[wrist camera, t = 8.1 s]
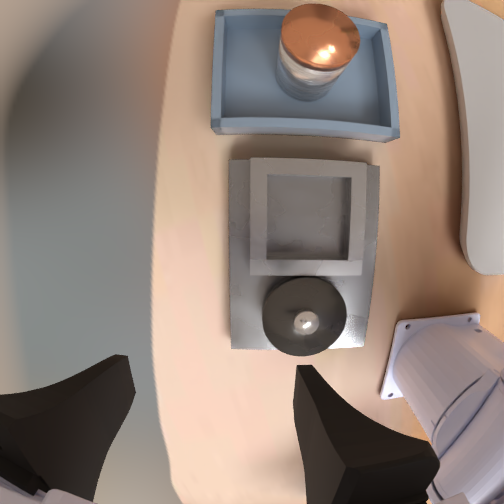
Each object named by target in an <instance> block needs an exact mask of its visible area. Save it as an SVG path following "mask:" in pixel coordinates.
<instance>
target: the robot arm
mask: <svg viewBox="0 0 504 504" xmlns="http://www.w3.org/2000/svg"><path fill="white" fill-rule="evenodd" d="M468 318H469V320H468ZM479 321H480V314H479V313H477V312H475V313H467V314H459V315H450V316H441V317H431V318H421V319H409V320H401V321H399V322H398V323H397V324H396V328H395V333H394V338H393V343H392V348H391V352H390V357H389V361H388V365H387V369H386V373H385V377H384V381H383V385H382V388H381V392H380V397H381V399H383V400H386V399H392V398H398V397H404V398H405V399H406V401H407V403H408V404H409V406H410V408H411V409H412V411H413V412H414V414H415V416H416V417H417V419H418V421H419V422H420V424H421V426H422V427H423V429H424V431H425V432H426V434H427V436H428V437H429V439H430V441H431V443H432V446H431V445H430V444H429V442H428V441H425V440H421V439H417V438H414V437H410V436H407V435H404V434H401V433H399V432H396V431H394V430H391V429H389V428H387V427H385V426H383V425H381V424H379V423H377V422H375V421H373V420H371V419H370V418H368V417H367V416H365V415H364V414H362V413H361V412H359V411H358V410H356V409H355V408H354V407H352V406H351V405H350V404H348V403H347V402H346V401H345V400H344V399H343V398H342V397H341V396H340V395H339V394H337V393H336V391H335V390H334V389H333V388H332V387H331V386H330V385H329V384H328V383H327V382H326V381H325V380H324V379H323V377H322V376H321V375H320V374H319V373H318V372H317V370H316V369H315V368H314V367H313V366H312V365H297V368H296V379H295V389H294V399H293V408H294V421H295V427H296V431H297V436H298V441H299V445H300V450H301V455H302V459H303V465H304V471H305V483H306V498H307V504H427V503H426V501H427V500H428V499H430V501H431V503H432V504H504V342H502V341H501V340H500V339H498V338H497V337H496V336H494V335H493V334H492V333H490V332H489V331H488V330H486V329H485V328H483V327H482V326H481V325H479ZM407 324H409V325H408V327H407V328H405V327H406V325H407ZM135 393H136V391H135V387H134V383H133V378H132V374H131V370H130V365H129V361H128V356H124V355H113V356H111V357H109V358H107V359H105V360H103V361H101V362H99V363H97V364H95V365H93V366H91V367H90V368H88V369H86V370H84V371H82V372H80V373H78V374H76V375H74V376H72V377H70V378H67V379H65V380H63V381H60V382H58V383H55V384H52V385H50V386H47V387H44V388H40V389H36V390H31V391H27V392H22V393H14V394H4V395H0V504H97V503H94V502H93V499H94V495H95V490H96V486H97V482H98V479H99V476H100V472H101V469H102V466H103V463H104V460H105V457H106V455H107V452H108V450H109V448H110V446H111V444H112V442H113V440H114V438H115V436H116V434H117V432H118V431H119V429H120V427H121V425H122V423H123V422H124V420H125V418H126V416H127V414H128V412H129V410H130V407H131V405H132V402H133V399H134V396H135ZM390 393H391V394H390ZM389 394H390V395H389ZM426 491H427V492H426Z"/></svg>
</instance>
